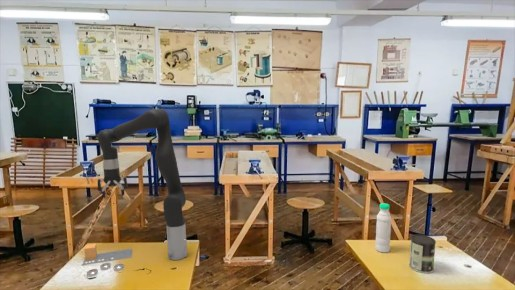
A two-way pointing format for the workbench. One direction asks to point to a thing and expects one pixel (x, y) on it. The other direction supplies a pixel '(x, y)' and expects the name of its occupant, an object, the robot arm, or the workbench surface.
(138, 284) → the workbench surface
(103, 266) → the steel cylinder
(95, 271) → the steel cylinder
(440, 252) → the workbench surface
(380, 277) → the workbench surface
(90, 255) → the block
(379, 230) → the water bottle
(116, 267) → the steel cylinder
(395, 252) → the workbench surface
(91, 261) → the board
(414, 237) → the coffee can
